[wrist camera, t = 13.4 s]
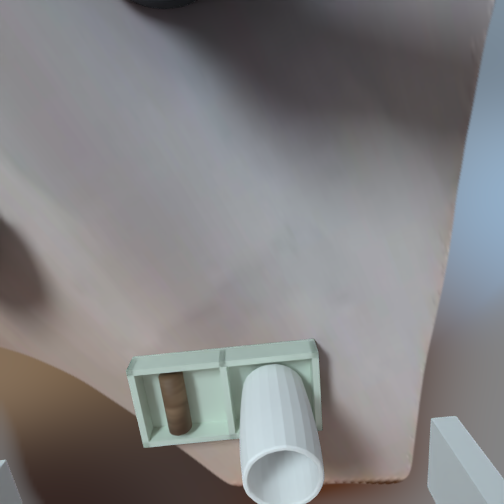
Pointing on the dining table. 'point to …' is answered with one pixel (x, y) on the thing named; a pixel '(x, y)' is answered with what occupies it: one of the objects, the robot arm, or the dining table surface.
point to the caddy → (214, 387)
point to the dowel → (175, 402)
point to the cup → (279, 438)
